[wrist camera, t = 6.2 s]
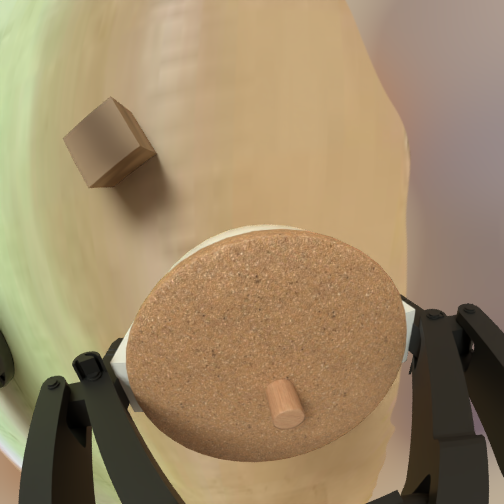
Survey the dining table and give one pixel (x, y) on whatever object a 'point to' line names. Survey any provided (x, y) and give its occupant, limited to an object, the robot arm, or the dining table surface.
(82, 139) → the cube walnut
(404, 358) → the robot arm
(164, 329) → the lidded jar
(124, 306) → the dining table surface
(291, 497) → the dining table surface
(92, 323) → the dining table surface
